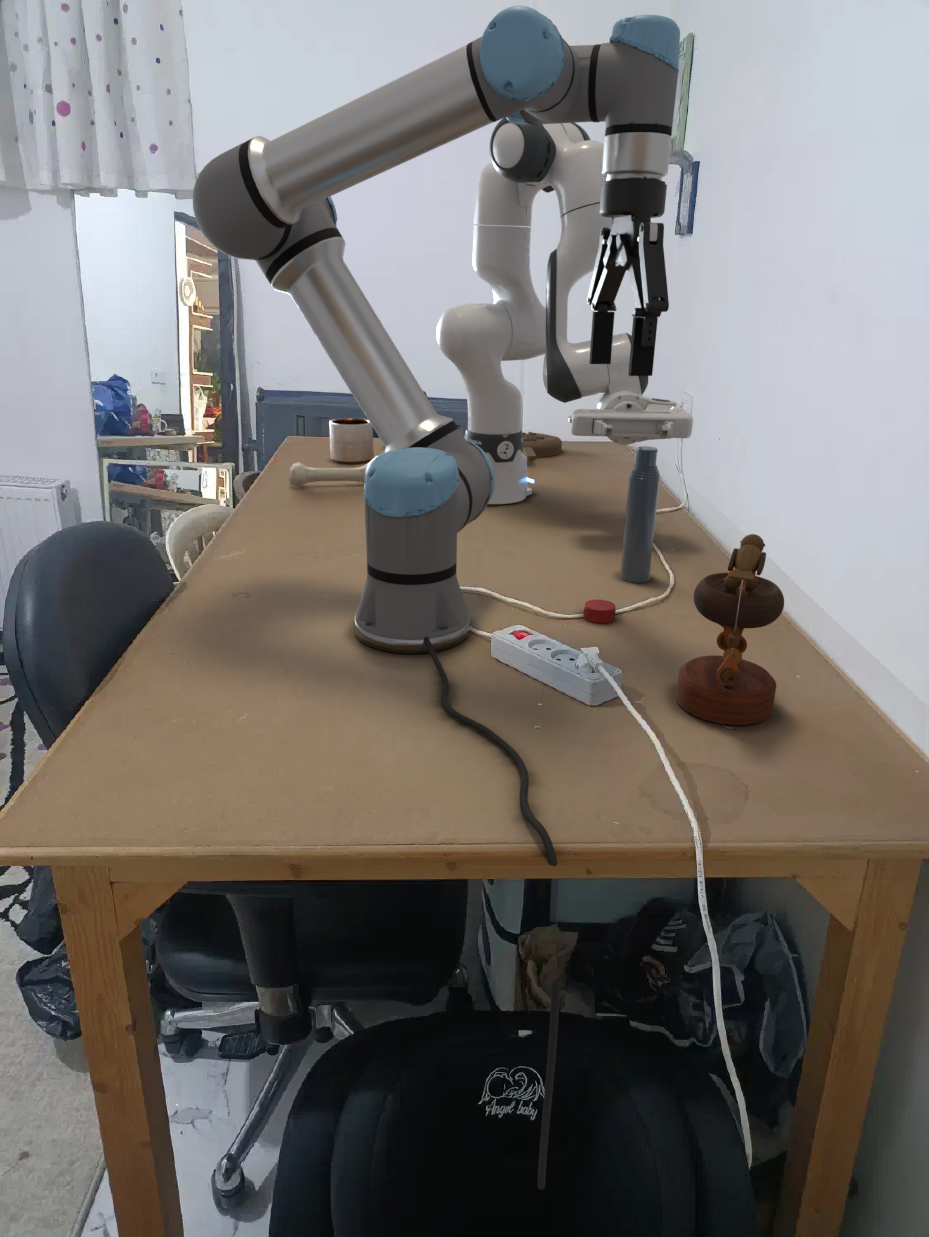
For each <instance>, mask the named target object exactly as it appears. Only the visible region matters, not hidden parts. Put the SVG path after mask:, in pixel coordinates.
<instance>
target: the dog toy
mask: <svg viewBox="0 0 929 1237" xmlns="http://www.w3.org/2000/svg"><path fill="white" fill-rule="evenodd" d="M369 463H370V461H368V462H366V463H365V464H364V465H362V466H358V467H328V468H327V467H325V468H324V467H321V468H320V467H319V468H318V467H309V466H306V465H305V464H303V463H301V462H299V461H298V462H295V463H292V464H291V466H290V468H289V475H288V481H289V485H291V486H295V487H300V486H304V485H305V484H308V483H317V482H357V483H358V482H359V483H363V484H364V483H365V471H366V468H367V466H368V464H369Z"/></svg>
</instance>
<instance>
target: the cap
mask: <svg viewBox="0 0 929 1237" xmlns="http://www.w3.org/2000/svg"><path fill="white" fill-rule="evenodd" d="M583 618H584V619H585V620H586V621H587V622H591V623H595V624H608V623H611V622H613V621H614V620H615V618H616V604H615V603H614V602H612V601H609V600H606V599H590V600H586V601H585V602H584V606H583Z"/></svg>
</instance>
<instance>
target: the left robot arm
mask: <svg viewBox="0 0 929 1237" xmlns="http://www.w3.org/2000/svg"><path fill="white" fill-rule="evenodd" d="M680 39H681V30H680V27H679V26H678V24H677V22H676V21H675V20H674V19H672V18H670V17H668V16H664V15H660V14H659V15H658V14H637V15H633V16H629V17H627V16H626V17H623V18H621V19H619V20H617V21H616V22H615V23H614V24H613V26H612V29H611V36H610V37H609V42H603V43H597V44H584V45H581V44H580V45H569V43H568V42H567V41H566V40H565V38H563V36H562V34H561V33H560V31H559V29H558V28H557V26H556V25H555V24H554V22H553V20H551V19H550V18H548V17H547V16H546V15H545V14H542V13H541V12H540V11H538V10H537V9H536V8H535V9H534V8H532V7H530V6H527V5H526V6H525V5H512V6H510V7H506V8H505V9H502V10H501V11H499V12H498V13H497V14H496V15H495V16H493V18H492V19H491V21H490V22H488V25H487V26H486V27H485V29H484V32H483V33H482V35H481V36H480V37H478V38H476V39H474V40H473V41H471V42H469V43H467V44H465V45H464V46H461V47H459V48H457V49H455V50H452V51H451V52H449V53H447V54H444V55H443V56H441V57H439V58H436V59H435V60H433V61H431V62H429V63H426V64H425V65H422V66H421V67H418V68H416V69H414V70H411V71H410V72H408V73H406V74H404V75H402V76H400V77H398V78H396V79H393V80H392V81H390V82H388V83H386V84H384V85H382V86H380V87H378V88H376V89H374V90H372V91H370V92H367V93H366V94H363V95H361V96H359V97H357V98H355V99H353V100H351V101H349V102H347V103H345V104H343V105H341V106H339V107H336V108H335V109H333V110H331V111H329V112H327V113H325V114H323V115H321V116H319V117H317V118H315V119H312V120H311V121H309V122H306V123H304V124H301V125H299V126H298V127H296V128H294V129H292V130H289V131H288V132H286V133H284V134H282V135H280V136H278V137H276V138H274V139H272V140H270V139H268V138H266V137H265V136H261V135H257V136H254V137H252V138H250V139H248V140H246V141H244V142H242V143H239V144H238V145H236V146H234V147H232V148H230V149H228V150H226V151H224V152H222V153H220V154H218V155H217V156H215V157H214V158H212V159H211V160H210V161H209V162H208V163H207V164H205V166H203V168H202V169H201V171H200V172H199V174H198V176H197V178H196V180H195V182H194V186H193V190H192V210H193V213H194V220H195V221H196V223H197V226H198V229H199V230H200V232H201V234H202V235H203V236H204V238H205V239H206V240H207V242H209V243H210V244H211V245H212V246H213V247H214V248H215V249H217V250H218V251H219V252H221V253H223V254H225V255H226V256H229V257H231V258H235V259H238V260H245V261H246V260H247V261H255V263H256V264H257V266H258V267H259V269H260V270H261V272H262V274H263V275H264V278H266V280H267V281H268V283H269V284H270V286H271V288H272V289H273V290H274V291H277V292H281V293H284V294H288V295H290V297H291V298H292V300H293V302H294V304H295V305H296V307H297V308H298V310H299V312H300V313H301V315H302V316H303V318H304V320H305V321H306V323H307V324H308V326H309V327H310V329H311V331H312V333H313V334H314V336H315V337H316V339H317V340H318V342H319V344H320V345H321V347H322V348H323V350H324V352H325V353H326V354H327V357H328V358H329V359H330V362H332V365H334V368H335V369H336V371H337V372H338V374H339V376H340V377H341V379H342V380H343V382H344V384H345V385H346V387H347V388H348V390H349V391H350V393H351V395H352V396H353V398H354V400H355V401H356V403H357V404H358V406H359V407H360V409H361V411H362V412H363V414H364V415H365V417H366V419H368V420H369V422H370V423H371V425H372V427H373V431H375V433H376V435H377V436H378V437H379V439H380V441H381V442H382V444H383V448H384V447H385V448H384V452H383V453H380V454H378V455H376V456H375V457H373V459H372V460H370V461H369V462H370V463H369V462H368V463H369V464H368V466H367V468H366V471H365V483H363V489H362V493H363V494H362V495H363V499H364V520H365V545H366V546H365V548H366V579H365V584H364V586H363V589H362V592H361V596H360V600H359V602H358V606H357V609H356V612H355V615H354V633H355V636H356V638H357V639H358V640H359V641H360V642H362V643H363V644H365V645H367V646H368V647H371V648H374V649H377V650H380V651H384V652H390V653H396V654H397V653H398V654H425V653H428V654H429V655H430V658H431V660H432V662H433V664H434V666H435V668H436V670H437V672H438V674H439V677H440V679H441V682H442V688H441V697H440V698H441V705H442V707H443V708H444V709H445V711H446V712H447V713H448V714H449V715H450V716H452V717H453V718H454V719H456V720H457V721H459V722H461V723H463V724H465V725H467V726H469V727H471V728H473V729H475V730H477V731H478V732H480V733H482V734H484V735H485V736H486V737H488V738H490V739H491V740H492V741H493V742H494V743H496V744H497V745H498V746H500V747H501V748H502V749H503V750H504V751H505V752H506V753H507V754H508V755H509V756H510V757H511V758H512V760H513V761H514V763H515V765H516V766H517V768H518V771H519V774H520V785H519V787H520V788H519V802H520V808H521V811H522V814H523V815H524V818H525V819H526V820H527V822H528V823H529V824H530V825H531V826H532V828H533V829H534V830H535V832H536V833H537V834H538V836H539V838H540V840H541V842H542V844H543V847H544V851H545V854H546V858H547V862H548V864H549V865H550V866H551V867H556V866H557V865H558V861H557V860H558V859H557V856H556V852H555V851H556V850H555V848H554V845H553V842H552V840H551V837H550V835H549V833H548V831H547V830H546V828H545V827H544V825H543V824H542V823H541V822H540V820H539V819H538V818H537V817H536V816H535V814H534V813H533V812H532V810H531V808H530V804H529V801H528V793H529V792H528V791H529V773H528V769H527V767H526V764H525V762H524V761H523V759H522V757H521V756H520V754H519V753H518V752H517V751H516V749H514V748H513V746H511V745H510V744H509V743H508V742H507V741H505V740H504V739H503V738H502V737H500V736H499V735H497V733H495V732H494V731H493V730H491V729H490V728H489V727H487V726H486V725H484V724H482V723H480V722H478V721H476V720H474V719H472V718H470V717H468V716H466V715H463V714H462V713H460V712H458V711H457V710H456V709H455V708H453V706H451V703H450V702H449V700H448V699H449V692H450V690H449V689H450V683H449V679H448V676H447V674H446V670H445V669H444V667H443V665H442V663H441V661H440V659H439V656H438V654H437V652H439V651H443V650H446V649H449V648H452V647H455V646H457V645H458V644H460V643H462V642H463V641H464V640H466V639H467V637H468V636H469V634H470V615H469V612H468V608H467V606H466V601H465V599H464V596H463V593H462V589H461V586H460V583H459V581H458V577H457V561H458V560H457V559H458V558H457V557H458V556H457V554H458V552H457V551H458V533H459V532H461V531H462V530H463V529H464V528H465V527H466V526H467V525H469V524H470V523H472V522H473V521H476V520H477V519H478V518H479V517H480V516H481V515H482V513H483V512H484V511H485V510H486V508H487V507H488V505H489V504H488V503H489V501H490V499H491V497H492V494H493V490H494V484H495V477H494V470H493V467H492V464H491V462H490V459H489V458H488V456H487V455H486V453H485V452H484V451H483V450H482V449H481V448H480V447H479V446H477V445H476V444H474V443H472V442H470V441H468V440H465V438H464V436H465V435H464V434H463V433H462V432H461V430H460V428H459V427H458V425H457V423H456V422H455V420H454V418H452V417H450V416H449V417H448V416H444V415H441V414H439V413H437V412H436V410H435V409H434V406H433V404H432V403H431V402H430V399H429V397H428V396H427V397H428V398H427V397H426V395H425V394H424V392H423V391H424V390H423V388H422V387H421V385H420V384H419V382H418V380H417V378H416V377H415V376H414V374H413V372H412V370H411V369H410V367H409V365H408V364H407V362H406V361H405V359H404V358H403V356H402V354H401V353H400V351H399V349H398V348H397V346H396V344H395V342H394V341H393V339H392V337H391V336H390V335H389V333H388V331H387V330H386V328H385V326H384V325H383V323H382V321H381V320H380V317H379V316H378V315H377V313H376V312H375V310H374V308H373V306H372V305H371V303H370V302H369V300H368V298H367V297H366V295H365V294H364V292H363V289H361V287H360V284H359V283H358V282H357V280H356V279H355V277H354V276H353V274H352V272H351V270H350V269H349V267H348V265H347V263H346V262H345V260H344V255H345V249H346V244H347V243H346V240H345V238H344V237H343V235H342V234H341V232H340V230H339V229H338V227H337V222H338V213H337V210H336V205H335V203H334V200H333V197H332V196H334V195H336V194H340V193H341V192H343V191H345V190H347V189H350V188H351V187H354V186H356V185H358V184H361V183H363V182H366V181H367V180H370V179H372V178H374V177H377V176H378V175H380V174H383V173H385V172H387V171H389V170H392V169H393V168H396V167H398V166H400V165H402V164H404V163H407V162H409V161H412V160H414V159H416V158H418V157H420V156H422V155H424V154H426V153H429V152H431V151H434V150H435V149H439V148H440V147H442V146H444V145H447V144H449V143H451V142H453V141H455V140H457V139H460V138H462V137H464V136H466V135H468V134H470V133H473V132H475V131H477V130H479V129H481V128H484V127H487V126H488V125H490V124H492V123H496V122H499V121H501V120H502V119H503V118H505V117H506V119H507V120H508V121H509V122H511V123H513V124H529V125H532V126H539V125H540V124H558V123H576V124H578V123H601V122H602V123H604V122H605V129H604V137H603V144H604V147H603V161H602V174H603V175H604V177H607V180H606V181H605V182H603V184H602V185H601V199H600V214H601V215H602V216H603V217H611V218H612V219H613V223H612V227H611V228H610V227H602V228H601V231H600V241H599V248H598V253H597V257H596V261H595V266H594V270H593V271H592V275H591V279H590V284H589V288H588V293H587V298H586V304H587V306H590V308H591V309H590V310H591V311H592V318H591V332H590V333H591V334H590V340H591V346H590V361H589V364H611V352H612V339H613V335H614V325H615V324H614V323H615V312H617V310H618V309H617V306H616V302H615V301H616V298H617V295H618V293H619V290H620V288H621V286H622V282H623V281H624V280H623V279H624V277H625V274H626V272H628V276H629V282H630V286H631V290H632V295H633V296H632V297H633V300H634V305H635V307H634V309H633V311H632V312H631V313H632V314H631V317H632V327H631V328H632V329H631V336H632V338H631V349H630V361H629V372H628V375H629V376H648V377H652V376H653V371H654V362H655V351H656V340H657V331H658V320H659V319H658V318H660V317H661V316H662V313H664V312H665V313H666V312H668V311H669V308H670V301H669V291H668V279H667V270H666V258H665V249H664V248H665V247H664V238H665V236H664V235H665V224H664V223H663V222H652V220H651V219H656V218H657V219H658V218H660V217H661V218H662V216H663V215H664V214H665V210H666V200H667V189H668V184H667V183H666V181H664V180H662V179H663V177H666V176H667V175H668V173H669V165H670V158H671V157H672V156H673V154H674V153H673V152H674V150H673V148H671V142H672V133H673V125H674V124H673V123H674V116H675V106H676V99H677V98H676V97H677V96H676V95H677V88H678V87H677V86H678V78H679V71H680V68H679V61H680V60H679V59H680V42H681V40H680ZM428 399H429V400H428ZM560 987H561V983H560V982H559V983H556V984H553V985H551V986H550V1009H549V1011H550V1012H549V1029H548V1043H547V1044H548V1046H547V1058H546V1059H547V1060H546V1071H545V1083H544V1095H543V1104H542V1117H541V1128H540V1140H539V1154H538V1167H537V1168H538V1170H537V1183H536V1184H537V1185H536V1186H537V1188H538V1190H541V1191H543V1190H544V1189H545V1187H546V1173H547V1159H548V1147H549V1137H550V1136H549V1133H550V1124H551V1123H550V1122H551V1113H552V1101H553V1093H554V1080H555V1069H556V1058H557V1043H558V1032H559V1030H558V1029H559V1014H560V1011H559V1010H560V993H561V992H560V990H561V988H560Z"/></svg>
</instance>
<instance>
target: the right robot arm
mask: <svg viewBox="0 0 929 1237" xmlns="http://www.w3.org/2000/svg"><path fill="white" fill-rule="evenodd" d="M489 139H490V140H489V158H490V161H491V162H489V163H488V164H487V165H485V166H484V167H483V168H482V170H481V172H480V174H479V179H478V182H477V188H476V194H475V199H474V210H473V223H472V224H473V226H472V249H471V251H472V252H471V253H472V254H471V265H472V268H473V270H474V273H475V274H476V275H477V277H478V278H479V279H481V280H483V281H484V282H486V283H487V284H488V285H489V287H490V289H491V292H492V296H493V303H464V304H461V305H456V306H453V307H449V308H447V309H445V310H444V311H443V313H441V316H440V318H439V319H438V322H437V326H436V341H437V344H438V347H439V350H440V351H441V353H442V354H443V355H444V356H445V357H446V358H447V359H448V360H449V361H451V362H452V363H453V365H454V366H455V367H456V369H457V370H458V372H459V373H460V374H459V375H460V376H461V377H462V380H463V383H464V387H465V391H466V399H467V429H465V430H464V432H465V433H464V435H463V436H464V438H465V440H468V441H470V442H472V443H474V444H476V445H477V446H479V447H480V448H481V449H482V450H483V451H484V452H485V453H486V455H487V456H488V458H489V459H490V462H491V464H492V467H493V470H494V477H495V484H494V490H493V494H492V497H491V499H490V501H489V503H488V504H487V505H506V504H507V505H509V504H514V503H519V502H522V501H524V500H525V499H526V498H527V497H528V496H531V495H532V494H533V489H532V488H531V487H528V483H531V484H534V483H535V479H532V478H530V477H528V460H527V458H526V456H525V455H524V454H523V453H522V452H521V448H522V441H523V437H522V433H523V431H522V427H521V426H522V407H523V406H522V404H523V397H522V392H521V391H520V389H519V388H518V387H517V386H516V385H515V384H514V383H512V382H511V381H509V380H507V379H506V378H505V376H504V374H503V371H502V362H508V361H509V362H510V361H527V360H531V359H534V358H537V357H540V356H544V357H543V363H542V381H543V385H544V388H545V391H546V393H547V394H548V395H549V396H550V397H552V398H553V399H554V400H557V401H558V402H561V403H564V404H566V403H569V402H573V401H576V400H580V399H582V398H584V397H590V396H596V395H597V396H596V399H595V403H594V408H581V409H574V411H573V412H572V415H568V416H567V418H566V419H567V422H568V424H569V423H570V424H571V435H573V436H577V437H607V438H608V440H610V441H612V442H613V443H615V444H618V445H624V446H626V445H632V444H635V443H640V442H641V443H642V442H645V441H653V440H654V441H655V440H667V439H668V440H669V439H689V438H690V437H691V436H692V432H693V423H694V418H693V415H692V414H691V413H690V412H689V411H688V410H686V409H684V408H682V407H680V406H678V403H677V401H675V400H669V399H661V398H654V397H649V396H645V395H644V393H645V392H646V389H647V388H648V385H649V376H629V375H628V372H629V361H630V349H631V338H632V334H630V333H628V332H624V333H617V334H613V339H612V352H611V364H589V361H590V346H591V339H590V340H585V341H580V342H573V343H572V342H570V341H569V340H568V316H569V315H568V313H569V311H568V309H569V306H568V304H569V296H570V293H571V291H572V289H573V287H574V286H575V285H576V284H577V283H578V282H579V281H581V279H583V278H584V277H586V276H587V275H588V274H590V273H593V270H594V266H595V261H596V257H597V253H598V248H599V241H600V231H601V228H602V227H610V228H611V227H612V223H613V219H612V218H611V217H603V216H602V215H601V214H600V199H601V185H602V184H603V182H605V181H606V180H607V177H604V175H603V174H602V161H603V147H604V142H601V141H599V140H592V139H591V137H590V135H589V134H588V132H587V131H586V130H585V129H584V128H583V127H582V126H580V125H579V124H578V123H558V124H540V125H539V126H532V125H529V124H513V123H511V122H509V121H508V120H507V119H506V117H505V118H502V119H500V120H499V121H498V123H496V125H495V127H494V129H493V131H492V133H491V136H490V138H489ZM541 191H543V192H544V193H546V194H549V193H551V192H555V194H556V197H557V202H558V203H557V204H558V209H559V217H560V218H559V219H560V224H561V225H560V226H561V227H560V228H561V229H560V230H561V231H560V236H559V240H558V244H557V246H556V248H555V249H554V250H552V252H550V254H549V257H548V260H547V268H546V288H545V306H544V305H543V303H542V302H541V301H540V299H539V297H538V294H537V293H536V290H535V287H534V284H533V279H532V275H531V239H532V238H531V237H532V216H533V215H532V214H533V213H532V212H533V205H534V201H535V198H536V196H537V195H538V194H539V192H541Z"/></svg>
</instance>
